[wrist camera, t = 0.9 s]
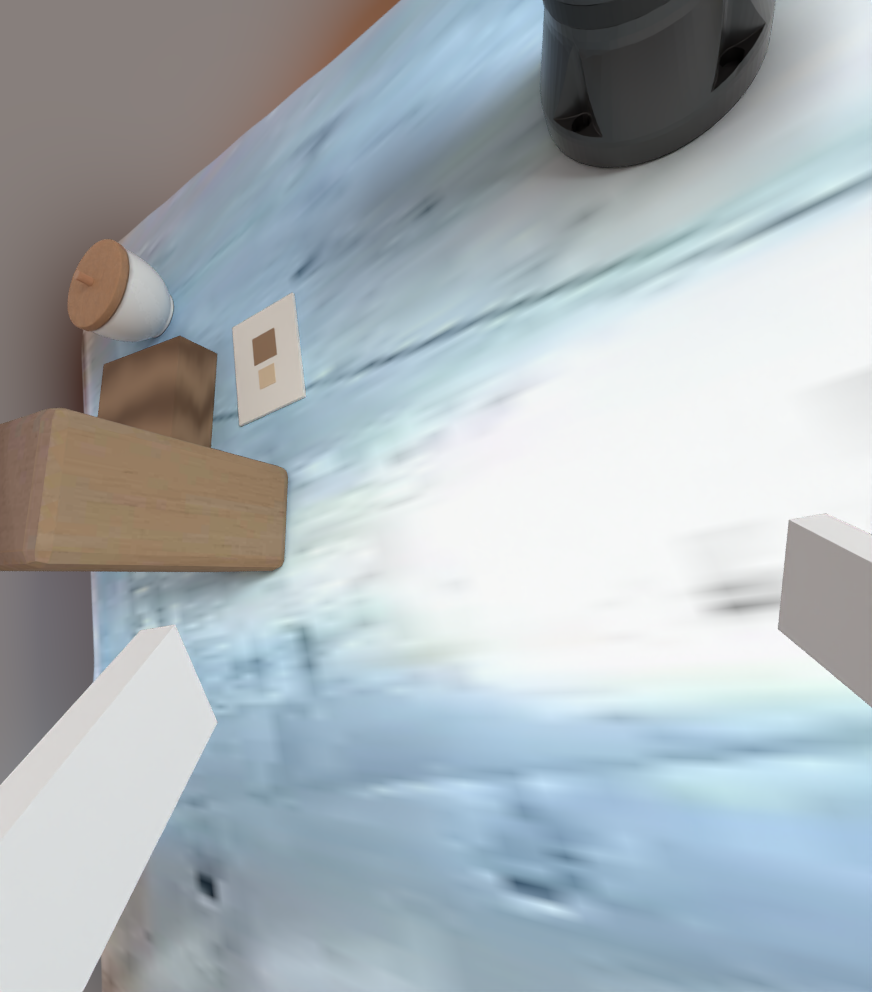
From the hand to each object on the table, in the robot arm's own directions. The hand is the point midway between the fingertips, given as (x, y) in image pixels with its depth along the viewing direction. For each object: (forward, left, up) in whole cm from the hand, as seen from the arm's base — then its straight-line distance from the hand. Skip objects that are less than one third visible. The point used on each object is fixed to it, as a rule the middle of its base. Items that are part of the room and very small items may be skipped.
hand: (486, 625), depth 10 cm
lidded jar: (-35, -53, -24) cm, 67 cm away
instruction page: (-24, -33, -23) cm, 47 cm away
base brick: (-20, -48, -24) cm, 57 cm away
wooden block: (-7, -34, -24) cm, 42 cm away
